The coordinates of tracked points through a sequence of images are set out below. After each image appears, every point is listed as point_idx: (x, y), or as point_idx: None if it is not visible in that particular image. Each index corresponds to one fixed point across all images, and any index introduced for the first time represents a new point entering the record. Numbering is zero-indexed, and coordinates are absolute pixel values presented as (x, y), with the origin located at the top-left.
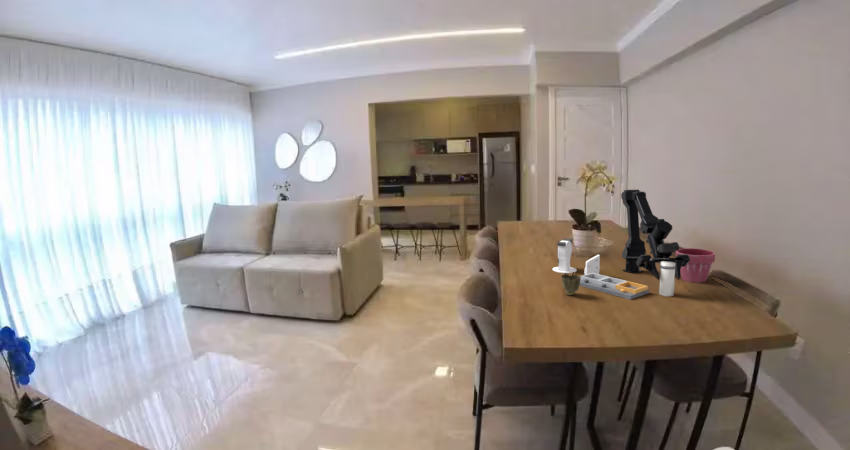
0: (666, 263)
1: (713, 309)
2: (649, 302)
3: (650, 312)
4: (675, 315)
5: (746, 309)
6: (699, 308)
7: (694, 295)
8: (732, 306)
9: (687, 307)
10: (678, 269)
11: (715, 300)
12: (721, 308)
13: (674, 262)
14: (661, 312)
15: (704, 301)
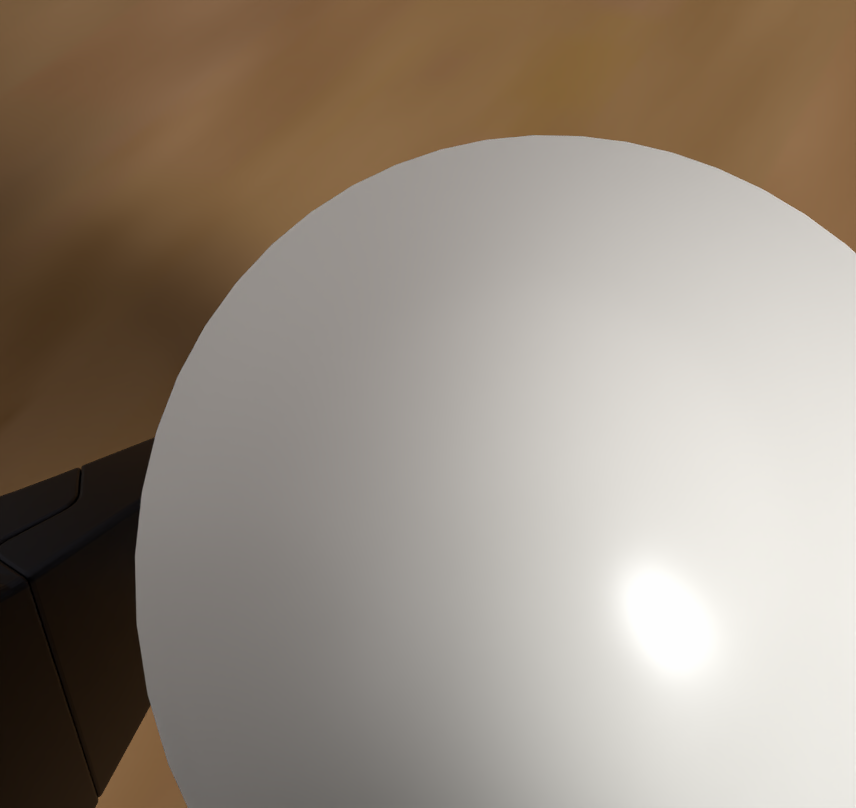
0: (793, 349)
1: (289, 63)
2: None
3: (848, 111)
4: (682, 28)
5: (10, 10)
6: (390, 103)
7: (127, 434)
8: (55, 84)
9: (477, 141)
10: (109, 495)
11: (50, 244)
12: (200, 67)
13: (154, 455)
14: (760, 94)
15: (191, 240)
